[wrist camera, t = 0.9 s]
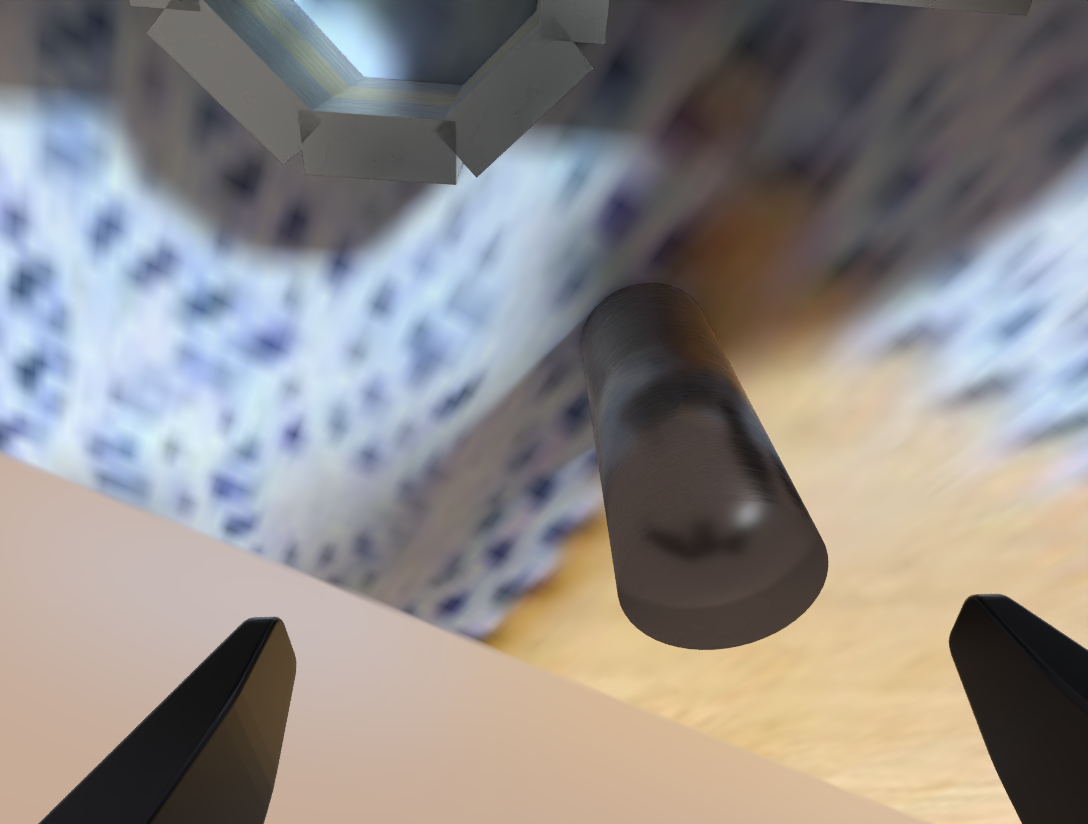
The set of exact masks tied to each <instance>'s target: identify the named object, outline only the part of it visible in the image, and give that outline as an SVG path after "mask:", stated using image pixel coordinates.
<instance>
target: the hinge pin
mask: <svg viewBox="0 0 1088 824" xmlns="http://www.w3.org/2000/svg"><path fill="white" fill-rule="evenodd" d="M581 350H582V358H583V365H584V371H585V378H586V385H587V391H588V398H589V405H590V411H591V418H592V425H593V432H594V438H595V445H596V452H597V458H598V465H599V472H600V478H601V485H602V492H603V498H604V505H605V512H606V518H607V525H608V532H609V539H610V545H611V552H612V559H613V565H614V572H615V579H616V585H617V592H618V598H619V601H620V605H621V607H622V609H623V611H624V613H625V615H626V616H627V618H628V619H629V620H630V622H631V623H632V624H633V625H634V626H636V627H637V628H638V629H639V630H640V631H642V632H643V633H644V634H646V635H648V636H649V637H651V638H653V639H655V640H657V641H660V642H663V643H665V644H668V645H672V646H676V647H681V648H687V649H698V650H715V649H725V648H731V647H737V646H741V645H745V644H749V643H752V642H755V641H758V640H760V639H763V638H765V637H768V636H770V635H772V634H774V633H776V632H778V631H780V630H781V629H783V628H785V627H786V626H788V625H789V624H791V623H792V622H794V621H795V620H796V619H797V618H799V617H800V616H801V615H802V614H803V613H804V612H805V611H806V610H807V609H808V608H809V607H810V606H811V605H812V604H813V602H814V601H815V599H816V598H817V597H818V595H819V593H820V591H821V589H822V588H823V586H824V583H825V580H826V577H827V571H828V554H827V550H826V546H825V544H824V542H823V540H822V538H821V536H820V534H819V532H818V530H817V528H816V526H815V524H814V523H813V521H812V519H811V517H810V515H809V513H808V511H807V509H806V507H805V505H804V504H803V502H802V500H801V498H800V496H799V494H798V492H797V490H796V488H795V486H794V485H793V483H792V481H791V479H790V477H789V475H788V473H787V471H786V469H785V467H784V466H783V464H782V462H781V460H780V458H779V456H778V454H777V452H776V450H775V448H774V447H773V445H772V443H771V441H770V439H769V437H768V435H767V433H766V431H765V429H764V428H763V426H762V424H761V422H760V420H759V418H758V416H757V414H756V412H755V410H754V409H753V407H752V405H751V403H750V401H749V399H748V397H747V395H746V393H745V391H744V390H743V388H742V386H741V384H740V382H739V380H738V378H737V376H736V374H735V372H734V371H733V369H732V367H731V365H730V363H729V361H728V359H727V357H726V355H725V353H724V352H723V350H722V348H721V346H720V344H719V342H718V340H717V338H716V336H715V334H714V333H713V331H712V329H711V327H710V325H709V323H708V321H707V319H706V317H705V315H704V313H703V312H702V310H701V308H700V307H699V305H698V304H697V303H696V302H695V301H694V300H693V299H692V298H691V297H690V296H688V295H687V294H686V293H684V292H682V291H681V290H679V289H676V288H674V287H672V286H668V285H664V284H656V283H645V284H637V285H633V286H629V287H626V288H624V289H621V290H619V291H617V292H615V293H613V294H612V295H610V296H609V297H607V298H606V299H605V300H604V301H602V302H601V303H600V304H599V305H598V306H597V307H596V309H595V310H594V311H593V312H592V314H591V315H590V317H589V319H588V321H587V323H586V325H585V328H584V330H583V334H582V340H581Z"/></svg>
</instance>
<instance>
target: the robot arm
mask: <svg viewBox="0 0 1088 824" xmlns="http://www.w3.org/2000/svg"><path fill="white" fill-rule="evenodd" d="M949 647H950V652H951V655H952V658H953V661H954V663H955V666H956V668H957V671H958V674H959V676H960V679H961V682H962V684H963V687H964V690H965V692H966V695H967V697H968V700H969V703H970V705H971V708H972V711H973V713H974V716H975V718H976V721H977V724H978V726H979V729H980V732H981V734H982V737H983V740H984V742H985V745H986V747H987V750H988V752H989V755H990V757H991V760H992V762H993V764H994V767H995V769H996V771H997V773H998V775H999V778H1000V780H1001V782H1002V784H1003V786H1004V788H1005V790H1006V792H1007V794H1008V796H1009V798H1010V800H1011V802H1012V804H1013V806H1014V808H1015V810H1016V812H1017V814H1018V816H1019V818H1020V820H1021V822H1022V824H1088V650H1087V649H1085V648H1084V647H1082V646H1081V645H1079V644H1078V643H1076V642H1075V641H1074V640H1072V639H1071V638H1069V637H1068V636H1066V635H1065V634H1063V633H1062V632H1060V631H1059V630H1057V629H1056V628H1054V627H1053V626H1051V625H1050V624H1048V623H1047V622H1045V621H1044V620H1042V619H1041V618H1039V617H1038V616H1036V615H1035V614H1033V613H1032V612H1030V611H1029V610H1027V609H1026V608H1024V607H1023V606H1021V605H1020V604H1018V603H1017V602H1015V601H1014V600H1012V599H1011V598H1009V597H1007V596H1005V595H1001V594H976V595H971V596H970V597H968V598H967V599H966V600H965V602H964V604H963V606H962V608H961V611H960V613H959V615H958V617H957V619H956V622H955V624H954V626H953V628H952V631H951V633H950V637H949ZM295 674H296V657H295V654H294V651H293V648H292V645H291V643H290V640H289V637H288V634H287V631H286V628H285V625H284V623H283V621H282V620H281V619H279V618H278V617H255V618H250V619H248V620H246V621H244V622H243V623H242V624H241V625H240V626H239V627H238V628H237V629H236V630H235V631H234V632H233V633H232V634H231V635H230V636H229V637H228V638H227V639H226V640H225V641H224V642H223V643H221V644H220V645H219V646H218V647H217V648H216V649H215V651H213V653H211V654H210V655H209V656H208V657H207V658H206V659H205V660H204V661H203V662H202V663H201V664H200V665H199V666H198V667H197V668H196V669H195V670H194V671H193V672H192V673H191V674H190V675H189V676H188V677H187V678H186V679H185V680H184V681H183V682H182V683H181V684H180V685H179V686H178V687H177V688H176V689H175V690H174V691H173V692H172V693H171V694H170V695H169V696H168V697H167V698H166V699H165V700H164V701H163V702H162V703H161V704H160V705H159V706H158V707H156V708H155V709H154V710H153V711H152V712H151V714H149V715H148V717H146V718H145V719H144V720H143V721H142V722H141V723H140V724H139V725H138V726H137V727H136V728H135V729H134V730H133V731H132V732H131V733H130V734H129V735H128V736H127V737H126V738H125V739H124V740H123V741H122V742H121V743H120V744H119V745H118V746H117V747H116V748H115V749H114V750H113V751H112V752H111V753H110V754H109V755H108V756H107V757H106V758H105V759H104V760H103V761H102V762H101V763H100V764H99V765H98V766H97V767H96V768H94V770H93V771H92V772H90V773H89V774H88V775H87V777H85V778H84V779H83V780H82V781H81V782H80V783H79V784H78V785H77V786H76V787H75V788H74V789H73V790H72V791H71V792H70V793H69V794H68V795H67V796H66V797H65V798H64V799H63V800H62V801H61V802H60V803H59V804H58V805H57V806H56V807H55V808H54V809H53V810H52V811H51V812H50V813H49V814H48V815H47V816H46V817H45V818H44V819H43V820H42V821H41V822H40V823H39V824H264V820H265V817H266V814H267V810H268V807H269V803H270V799H271V796H272V792H273V788H274V783H275V779H276V774H277V769H278V764H279V759H280V753H281V748H282V743H283V737H284V732H285V727H286V722H287V717H288V711H289V706H290V701H291V695H292V690H293V685H294V680H295Z"/></svg>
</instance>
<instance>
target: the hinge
mask: <svg viewBox="0 0 1088 824" xmlns="http://www.w3.org/2000/svg"><path fill="white" fill-rule="evenodd" d="M129 1H130V5H131V6H137V7H149V8H161V9H164V10H163V12H162V13H161V14H160V16H159V17H158V18H157V20H156V21H155V22H154V24H153V25H152V26H151V28H150V29H149V30H148V32H147V33H146V34H147V35H149V36H150V37H151V38H152V39H153V40H154V41H155V42H156V43H157V44H158V45H159V46H160V47H161V48H162V49H163V50H164V51H165V52H166V53H167V54H168V55H169V56H170V57H171V58H172V59H174V60H175V61H176V62H177V63H178V64H179V65H180V66H181V67H182V68H183V69H184V70H185V71H186V72H187V73H188V74H189V75H190V76H191V77H192V78H193V79H194V80H195V81H196V82H198V83H199V84H200V85H201V86H202V87H203V88H204V89H205V90H206V91H207V92H208V93H209V94H210V95H211V96H212V97H213V98H214V99H215V100H216V101H217V102H218V103H219V104H220V105H222V106H223V107H224V108H225V109H226V110H227V111H228V112H229V113H230V114H231V115H232V116H233V117H234V118H235V119H236V120H237V121H238V122H239V123H240V124H241V125H242V126H243V127H244V128H246V129H247V130H248V131H249V132H250V133H251V134H252V135H253V136H254V137H255V138H256V139H257V140H258V141H259V142H260V143H261V144H262V145H263V146H264V147H265V148H266V149H267V150H268V151H270V152H271V153H272V154H273V155H274V156H275V157H276V158H277V159H278V160H279V161H280V162H281V163H282V164H284V163H285V162H286V161H288V160H289V159H290V158H292V157H293V156H294V155H295V154H297V153H298V152H299V151H301V150H302V153H303V162H304V170H305V175H319V176H334V177H349V178H364V179H378V180H393V181H408V182H422V183H437V184H452V185H456V184H457V181H458V177H459V174H460V171H461V168H462V165H463V163H464V164H465V165H466V166H467V167H468V169H469V170H470V171H471V172H472V173H473V174H474V175H475V176H476V177H478V176H479V175H480V174H481V173H482V172H483V171H484V170H485V169H486V168H487V167H488V166H490V165H491V164H492V163H493V162H494V161H495V160H496V159H497V158H498V157H499V156H500V155H501V154H502V153H503V152H505V151H506V150H507V149H508V148H509V147H510V146H511V145H512V144H513V143H514V142H515V141H516V140H517V139H518V138H519V137H521V136H522V135H523V134H524V133H525V132H526V131H527V130H528V129H529V128H530V127H531V126H532V125H533V124H534V123H536V122H537V121H538V120H539V119H540V118H541V117H542V116H543V115H544V114H545V113H546V112H547V111H548V110H549V109H550V108H552V107H553V106H554V105H555V104H556V103H557V102H558V101H559V100H560V99H561V98H562V97H563V96H564V95H565V94H567V93H568V92H569V91H570V90H571V89H572V88H573V87H574V86H575V85H576V84H577V83H578V82H579V81H580V80H581V79H583V78H584V77H585V76H586V75H587V74H588V73H589V72H590V71H591V70H592V69H593V68H592V66H591V65H590V64H589V62H588V61H587V59H586V58H585V57H584V55H583V54H582V53H581V51H580V50H579V48H578V47H577V46H576V44H575V43H574V42H581V43H593V44H605V38H606V29H607V19H608V10H609V1H610V0H537V9H536V12H535V13H534V14H533V15H532V16H531V17H530V18H529V19H528V20H527V21H526V22H525V23H524V24H523V25H522V26H521V27H520V28H519V29H518V30H517V31H516V32H515V33H514V34H513V35H512V36H511V37H510V38H509V39H508V40H507V41H506V42H505V43H504V44H503V45H502V46H501V47H500V48H499V49H498V50H497V51H496V52H495V53H494V54H493V55H492V56H491V57H490V58H489V59H488V60H487V61H486V62H485V63H484V64H483V65H482V66H481V67H480V68H479V69H478V70H477V71H476V72H475V73H474V74H473V75H472V76H471V77H470V78H469V79H468V80H467V81H466V82H465V83H464V84H463V85H458V84H445V83H432V82H419V81H406V80H393V79H380V78H367V77H363V76H362V75H361V74H360V73H359V72H358V70H357V69H356V68H355V67H354V66H353V65H352V64H351V63H350V62H349V61H348V60H347V58H346V57H345V56H344V55H343V54H342V53H341V52H340V51H339V50H338V49H337V48H336V46H335V45H334V44H333V43H332V42H331V41H330V40H329V39H328V38H327V37H326V36H325V34H324V33H323V32H322V31H321V30H320V29H319V28H318V27H317V26H316V25H315V24H314V22H313V21H312V20H311V19H310V18H309V17H308V16H307V15H306V14H305V13H304V12H303V10H302V9H301V8H300V7H299V6H298V5H297V4H296V3H295V2H294V1H293V0H129ZM842 1H854V2H866V3H877V4H889V5H900V6H912V7H925V8H937V9H949V10H961V11H973V12H986V13H998V14H1010V15H1022V16H1026V15H1027V13H1028V10H1029V8H1030V5H1031V2H1032V0H842Z"/></svg>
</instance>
